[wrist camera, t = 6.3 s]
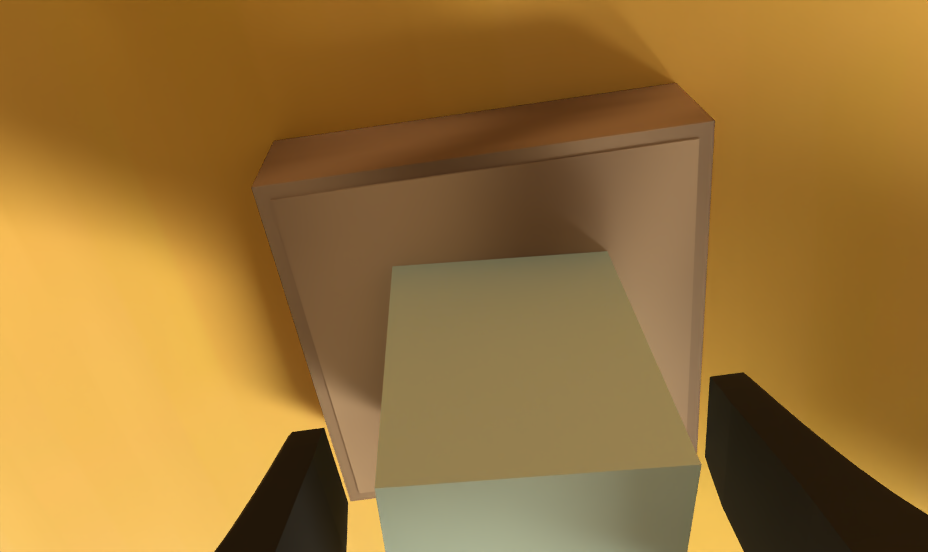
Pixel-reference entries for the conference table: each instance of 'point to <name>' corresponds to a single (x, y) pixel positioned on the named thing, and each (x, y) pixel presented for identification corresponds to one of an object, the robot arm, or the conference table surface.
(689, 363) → the walnut box
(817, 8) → the conference table surface
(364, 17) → the conference table surface
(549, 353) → the sage block
